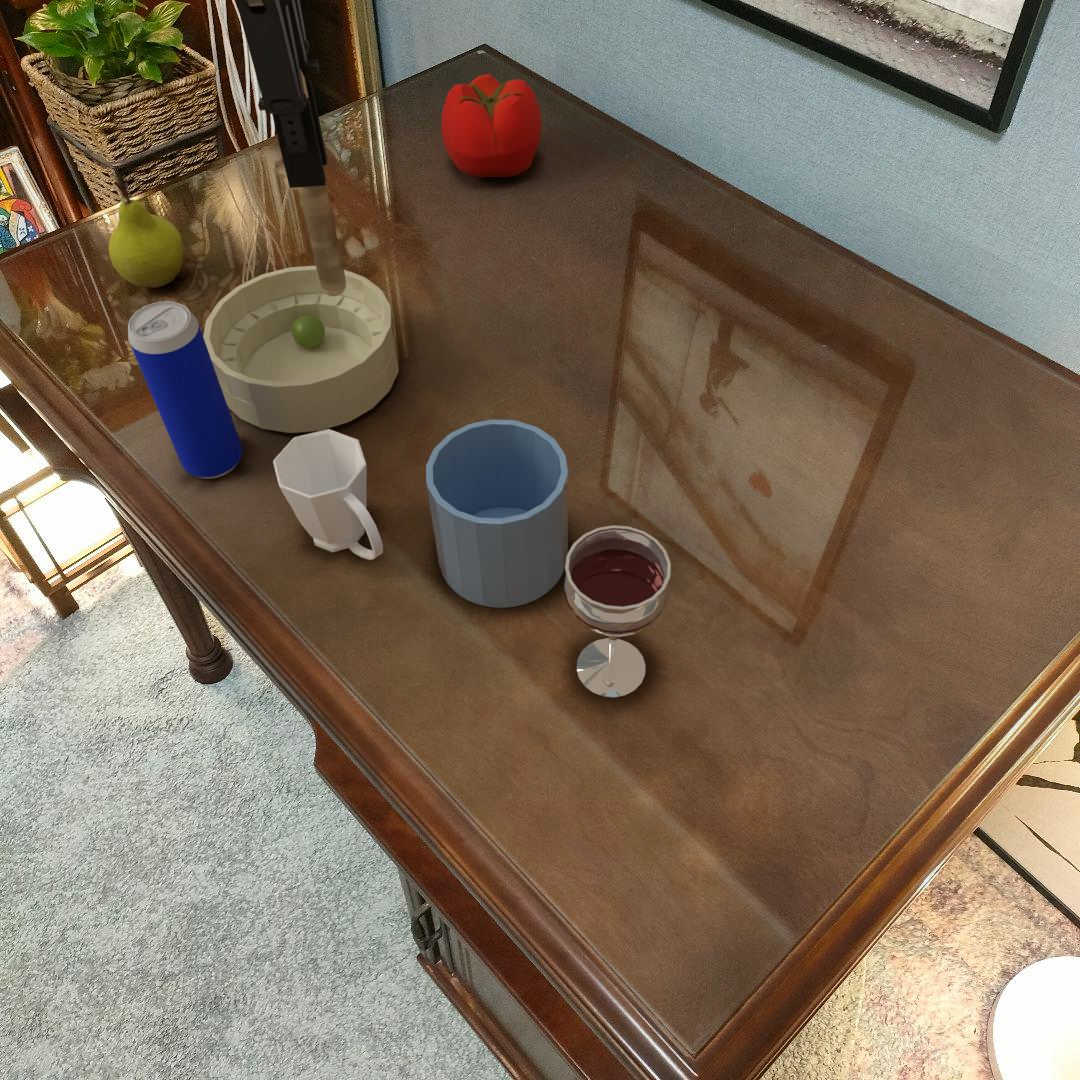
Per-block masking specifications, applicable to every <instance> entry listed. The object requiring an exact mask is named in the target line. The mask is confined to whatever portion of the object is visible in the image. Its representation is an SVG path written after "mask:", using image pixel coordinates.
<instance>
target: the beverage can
mask: <svg viewBox="0 0 1080 1080" xmlns="http://www.w3.org/2000/svg"><path fill="white" fill-rule="evenodd" d="M203 335H204V334H203V332H202V329H201V325H200V323H199V321H198V318H197V317H196V316H195V315H194V313H192V311H191V310H190V309H189V308H188V307H187V306H186V305H184V304H181V302H176V301H171V300H170V301H169V300H168V301H164V300H163V301H155V302H153V303H152V302H151V303H150V304H147V305H145V306H143V307H140V308H139V309H137V310H136V311H135V312H134V313H133V314H132V315H131V317H130V318H129V321H128V323H127V337H128V339H127V340H128V343H129V345H130V348H131V350H132V352H133V354H134V357H135V359H136V362H137V364H138V366H139V369H140V372H141V374H142V375H143V378H144V380H145V383H146V385H147V387H148V390H149V392H150V394H151V397H152V399H153V401H154V404H155V406H156V408H157V411H158V414H159V416H160V418H161V420H162V423H163V425H164V428H165V430H166V432H167V434H168V437H169V439H170V442H171V444H172V446H173V448H174V450H175V453H176V456H177V457H178V460H179V462H180V464H181V466H182V469H183V470H184V471H185V472H186V473H188V474H189V475H191V476H194V477H196V478H199V479H206V480H209V479H210V480H211V479H217V478H221V477H223V476H225V475H228V474H229V473H230V472H231V471H233V470H234V469H235V468H236V467H237V465H238V464H239V462H240V460H241V458H242V455H243V446H242V443H241V440H240V437H239V435H238V431H237V428H236V426H235V422H234V420H233V418H232V417H233V416H232V415H231V411H230V408H229V407H228V406H227V403H226V400H225V397H224V394H223V391H222V389H221V386H220V383H219V380H218V377H217V374H216V372H215V369H214V366H213V363H212V360H211V357H210V355H209V352H208V349H207V346H206V343H205V340H204V337H203Z"/></svg>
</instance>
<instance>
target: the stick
mask: <svg viewBox="0 0 1080 1080" xmlns="http://www.w3.org/2000/svg"><path fill="white" fill-rule="evenodd" d="M300 72H301V77H302V82H303V87H304V93H305V94H306V96H307V98H308V93H307V88H306V83H305V75H303V73H302V71H301V70H300ZM297 191H298V195H299V199H300V204H301V208H302V213H303V216H304V222H305V227H306V230H307V234H308V239H309V242H310V247H311V252H312V256H313V261H314V264H315V265H314V266H316V269H317V274H318V278H319V282H320V286H321V289H322V290H323V292H324V293H326V294H327V295H329V296H338V295H340V294H342V293H343V292H344V290H345V288H346V278H345V273H344V263H343V258H342V254H341V249H340V245H339V240H338V235H337V230H336V229H337V228H336V225H335V220H334V215H333V211H332V205H331V200H330V195H329V190H328V186H327V184H326V185H325V186H311V187H297Z"/></svg>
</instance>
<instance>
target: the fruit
mask: <svg viewBox="0 0 1080 1080" xmlns="http://www.w3.org/2000/svg"><path fill="white" fill-rule="evenodd" d="M113 184H114V186H116V187H117V188H118V189H119V191H120V192H122V193H123V195H124V197H125V200H123V201H122V202H121V203H120V204H119V207H118V210H117V214H118V223H117V226H116V227H115V228H114V230H113V232H112V234H111V236H110V238H109V241H108V253H109V254H108V255H109V258H110V259H109V260H110V261H111V264H112V266H113V268H114V269H115V270H116V272H117V273H118V274H119V275H120V276H121V277H122V278H123V279H124V280H126V281H127V282H129V283H130V284H132V285H133V286H136V287H141V288H142V287H143V288H152V289H156V288H161V287H163V286H167V285H168V284H170V283H172V282H173V281H174V280H175V279H176V277H177V276H178V275H179V273H180V271H181V269H182V266H183V261H184V252H185V251H184V243H183V239H182V235H181V233H180V231H179V230H178V229H177V227H176V226H175V225H174V224H173V223H172V222H171V221H169V220H168V219H166V218H165V217H162V216H160V215H156V214H153V213H149V212H148V211H147V209H146V208H145V207H144V205H143V204H142V203H141V202H140V201H138V200H136V199H130V197H129V196H128V194H127V193H126V191H125V190H124V189H123V187H122V186H121V185H120V184H119V182H117V181H115V182H113Z"/></svg>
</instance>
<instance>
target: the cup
mask: <svg viewBox="0 0 1080 1080" xmlns="http://www.w3.org/2000/svg"><path fill="white" fill-rule="evenodd" d="M272 463H273V467H274V471H275V476H276V479H277V483H278V488H280V490H281V492H282V494H283V496H284V497H285V499H286V501H287V502H288V504H289V505H290V508H291V509H292V511H293V513H294V514H295V517H296V518H297V520H298V523H299V524H300V525H301V526H302V527H303V528H304V530H305V531H306V532H307V533H308V535H309V536H310V537H311V538H312V539H313V544H314V546H316V547H318V548H320V549H323V550H326V551H328V552H330V553H336V552H340V551H343V550H346V549H349V550H350V551H351V552H352V554H354V555H356V556H358V557H360V558H362V559H366V560H368V561H373V560H374V559H376V558H378V557H379V556H381V555H382V554H384V545H383V542H382V541H383V540H382V538H381V534H380V532H379V530H378V527H377V524H376V522H375V521H374V519H373V517H372V516H371V513H370V512H369V511H368V510H367V509H368V508H367V503H368V502H367V501H368V500H367V461H366V459H365V456H364V453H363V449H362V446H361V444H360V440H359V439H358V438H354V437H352V436H349V435H346V434H343V433H341V432H338V431H335V430H333V429H331V428H328V429H324V430H320V431H314V432H311V433H310V432H309V433H307V434H303V435H298V436H294V437H293V438H292V439H291V440H290V441H289V442H288V443H287V444H286V445H285V446H284V448H283V449H282V450H281V451H280V452H279V453H278V454H277V455H276V457H275V458H274V459H273V460H272ZM365 533H366V534H367V537H368V540H369V542H370V546H371V549H368V548H366V547H365V546H362V545H361V544H360V543H359V540H360V539H361V538H362V536H363V535H364V534H365Z"/></svg>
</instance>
